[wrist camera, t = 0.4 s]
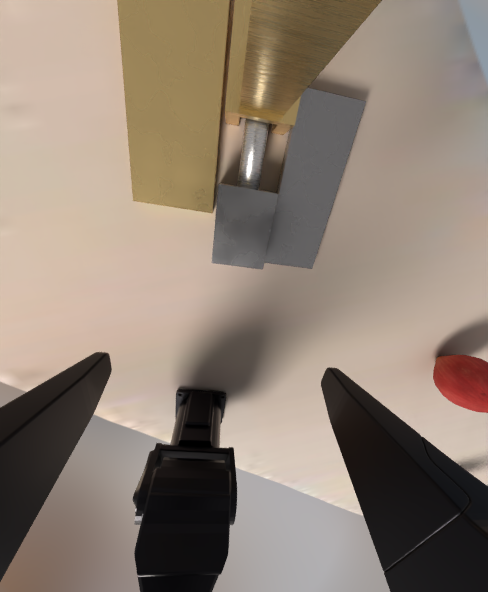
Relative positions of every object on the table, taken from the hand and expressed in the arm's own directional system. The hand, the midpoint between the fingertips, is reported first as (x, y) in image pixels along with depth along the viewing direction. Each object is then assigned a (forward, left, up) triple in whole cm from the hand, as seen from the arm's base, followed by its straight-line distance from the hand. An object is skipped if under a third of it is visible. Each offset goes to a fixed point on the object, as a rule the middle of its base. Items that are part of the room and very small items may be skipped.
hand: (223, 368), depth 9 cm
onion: (-9, -29, -13) cm, 33 cm away
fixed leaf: (+8, -3, -13) cm, 16 cm away
